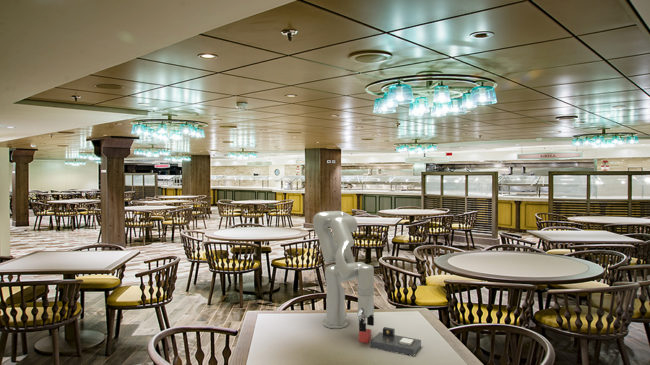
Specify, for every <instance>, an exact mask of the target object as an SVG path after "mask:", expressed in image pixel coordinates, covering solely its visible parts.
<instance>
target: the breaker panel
mask: <svg viewBox="0 0 650 365" xmlns="http://www.w3.org/2000/svg"><path fill="white" fill-rule="evenodd" d="M402 338H407V339H412V340H414V343H413V345H412V346H408V345H403V344H400V340H401V339H402ZM369 343H370V344H369V347H370V348H372V349H376V348H377V349H378V350H381V349H382V351H387V352H391V351H392V353H395V352H398V354H400V353H404V354H403V355H405V354H409V355H408V356H410V355H414V354H415V353H416V352H417V353H418V351H419V350H420V349H421V347H422V339H419V338H411V337H407V336H402V335H396V333H395V328H392V327H383V328H382V331H381V332H378V333H377V334H376V335H375V336H374V337H373V338H371V341H370V342H369ZM419 348H420V349H419ZM377 349H376V350H377ZM418 349H419V350H418ZM417 353H416V354H417ZM416 354H415V355H416ZM415 355H414V356H415Z"/></svg>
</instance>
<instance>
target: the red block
mask: <svg viewBox="0 0 650 365" xmlns="http://www.w3.org/2000/svg"><path fill="white" fill-rule="evenodd" d="M371 340H372V329H369V328H366V332H362V331H359V332H358V342H360V343H364V342H365V344H369V343H370V341H371ZM368 342H369V343H368Z"/></svg>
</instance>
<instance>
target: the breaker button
mask: <svg viewBox="0 0 650 365" xmlns="http://www.w3.org/2000/svg"><path fill="white" fill-rule="evenodd" d="M413 343H414V340H412V339H407V338H402V339H401V340H400V344H403V345H408V346H412V345H413Z"/></svg>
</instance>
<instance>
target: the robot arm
mask: <svg viewBox="0 0 650 365" xmlns="http://www.w3.org/2000/svg"><path fill="white" fill-rule="evenodd" d="M312 220H313V221H312V227H313V230H314V232H315V234H316V237H317V238H318V241H319V245H320V249H321V253H322V257H323V260H324V262H326V263H333V264H329V265H328V266H326V268H325V270H324V276H325V277H324V278H325V283H326V314H325V315H326V319H324V320H323V324H322V325H323V326H324V327H325V328H329V329H337V330H338V329H344V328H345V327H347V326H348V324H349V323H348V321H347V320H345V319H346V317H347V313H346V291H345V288H344V286H343V285H342V283H344V282H345V283H346V282H350V281H351V282H352V281H354V280H355V279H357V295H358V298H357V309H356V310H357V312H356V313H357V314H356V315H357V317H358V328H359V329H358V330H359V331H362V332H366V329H367V326H371V327H373V326H374V325H375V321H374V320H375V319H374V318H375V317H374V316H375V314H374V312H375V301H374V300H375V299H374V296H375V272H374V270H375V269H374V268H375V267H374V266H373V265H371V264H368V263H367V264H366V263H365V262H362V261H357V262H356V261H355V258H354V254H353V251H352V249H351V247H353V246H354V244H355V240H354V238H353V235H352V233H354V232H355V231H356V230H358V222H357V219H356V218H355V216H353V215H351V214H349V213H347V212H345V211H342V210H328V211H327V210H326V211H325V210H324V211H319V212H317V213H315V215H314V216H313V219H312ZM329 228H331V230H330V229H329Z"/></svg>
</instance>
